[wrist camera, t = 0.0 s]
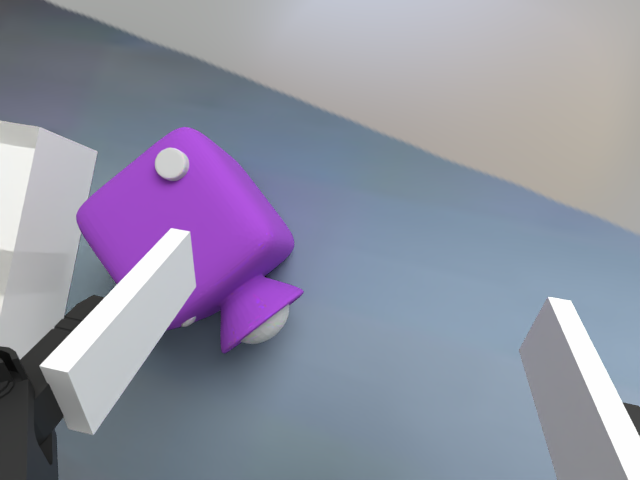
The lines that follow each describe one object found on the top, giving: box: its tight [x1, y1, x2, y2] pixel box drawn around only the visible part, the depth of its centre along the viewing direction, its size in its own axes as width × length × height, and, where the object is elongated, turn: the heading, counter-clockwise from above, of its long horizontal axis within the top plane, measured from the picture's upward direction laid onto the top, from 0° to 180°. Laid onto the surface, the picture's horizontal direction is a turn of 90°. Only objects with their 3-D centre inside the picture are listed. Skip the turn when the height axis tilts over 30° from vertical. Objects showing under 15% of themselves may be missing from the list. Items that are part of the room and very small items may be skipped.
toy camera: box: [76, 127, 304, 353], centre depth 26 cm, size 11×14×10 cm
